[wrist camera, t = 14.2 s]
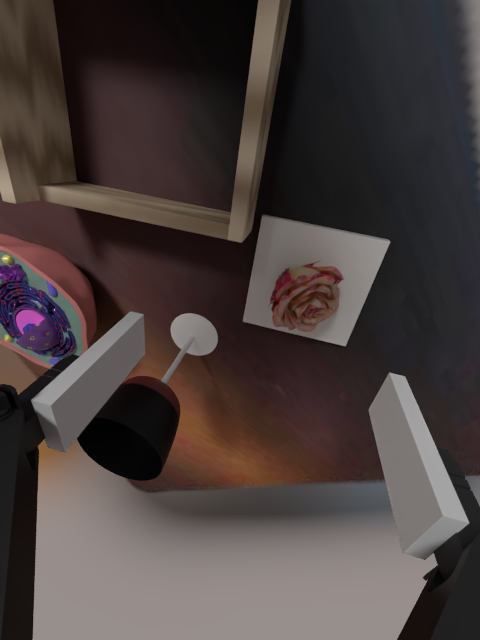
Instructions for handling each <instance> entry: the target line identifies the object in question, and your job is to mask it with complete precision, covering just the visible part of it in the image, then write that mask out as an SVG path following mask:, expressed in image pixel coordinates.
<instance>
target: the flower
mask: <svg viewBox="0 0 480 640" xmlns="http://www.w3.org/2000/svg"><path fill="white" fill-rule="evenodd" d="M321 261H322V260H321ZM317 262H319V261H317ZM317 262H315V263H317ZM315 263H310V264H306V265H303V266H300V267H295V268H293V269H291V270H290V269H289V267H288V268H287V269H285V271H284V272H282V273H281V274H280V276H278V277H279V278H278V279H277V281H276V284H275V288H274V290H273V292H272V296H271V298H270V304H272V303H273V305H272V308H271V310H272V312H273V316H272V319H273V324H274V326H275V327H287V328H288V329H289V330H293V329H295V328H297V329H298V330H300V331H304V332H309V331H312V330H314V329H315V328H316V326H317V324H318V323H320V322H323V321H324V320H326V319H327V318H329V317H330V316H332V315H333V314H334V313H335V312H336V310H337V309H338V307H339V289H338V287H337V285H338V283H340V281H342V280H344V278H343V276H342V274H341V273H340V271H339V270H338V269H337V268H336V267H332V266H328V267H314V266H313V265H314V264H315ZM337 302H338V303H337ZM270 304H269V306H270Z"/></svg>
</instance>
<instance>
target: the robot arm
mask: <svg viewBox="0 0 480 640" xmlns="http://www.w3.org/2000/svg"><path fill="white" fill-rule="evenodd" d="M144 355H145V334H144V314H140V313H136V312H132V311H130V312H129V313H128V314H127V315H126V316H125V317H124V318H122V319H121V320H120V321H119V322H118V323H117V324H116V325H115V326H113V327H112V328H111V329H110V330H109V331H108V332H107V333H106V334H105V335H103V336H102V337H101V338H100V339H99V340H98V341H97V342H96V343H94V344H93V345H92V346H91V347H90V348H89V349H88V350H87V351H85V352H84V353H83V354H82V355H81V356H77V355H74V354H72V355H70V356H68V357H66V358H63V359H61V360H60V361H59V362H57V363H56V364H55V365H54V366H53V367H51V369H49V370H48V371H47V372H45V373H44V375H43V376H41V377H39V378H38V379H37V380H36V381H35V382H33V383H32V384H31V385H30V386H29V387H27V388H26V389H25V390H24V391H23V392H21V393H20V394H19V395H18V394H17V392H16V389H15V388H14V387H12V386H10V385H5V384H2V385H0V640H32V638H33V609H34V580H35V579H34V578H35V577H34V576H35V550H36V521H37V491H38V462H39V450H38V445H39V444H40V443H41V442H42V441H43V440H44V439H45V441H46V444H47V447H48V448H51V449H55V450H58V451H61V452H66V451H67V450H68V448H69V447H70V446H71V445H72V443H73V442H74V441H75V440H76V439H77V437H78V436H79V435H80V434H81V432H82V431H83V430H84V429H85V428H86V426H87V425H88V424H89V423H90V421H91V420H92V419H93V418H94V416H95V415H96V414H97V413H98V411H99V410H100V409H101V408H102V407H103V405H104V404H105V403H106V402H107V400H108V399H109V398H110V397H111V395H112V394H113V393H114V392H115V391H116V389H117V388H118V387H119V386H120V384H121V383H122V382H123V381H124V379H125V378H126V377H127V376H128V374H129V373H130V372H131V371H132V370H133V368H134V367H135V366H136V365H137V363H138V362H139V361H140V360H141V358H142V357H143V356H144ZM369 414H370V418H371V423H372V427H373V431H374V435H375V439H376V444H377V448H378V452H379V456H380V460H381V464H382V469H383V473H384V477H385V481H386V485H387V490H388V493H389V498H390V502H391V506H392V510H393V515H394V519H395V523H396V527H397V531H398V536H399V540H400V544H401V548H402V552H403V553H404V554H408V555H411V556H414V557H418V558H421V559H424V560H425V559H427V558H428V557H429V556H430V555H431V554H433V553H434V554H435V558H436V561H437V564H438V566H436V567H435V568H434V569H432V570H431V571H430V572H428V573H427V574H426V575H425V576H424V577H423V578H424V579H425V580H427V579H428V581H427V583H426V585H425V587H424V589H423V590H422V593H421V594H420V596H419V598H418V600H417V602H416V604H415V606H414V608H413V610H412V612H411V614H410V616H409V618H408V620H407V622H406V623H405V625H404V627H403V629H402V631H401V633H400V635H399V637H398V639H397V640H480V506H479V504H478V503H477V500H476V499H475V496H474V495H473V492H472V491H471V490H470V486H469V484H468V482H467V480H465V476H464V474H463V472H462V470H461V468H460V465H459V464H458V462H457V461H456V460H455V459H454V458H453V456H452V455H451V454H450V453H449V452H448V451H447V450H443V449H439V448H436V446H435V444H434V441H433V439H432V437H431V434H430V432H429V430H428V428H427V425H426V423H425V421H424V419H423V416H422V414H421V412H420V409H419V407H418V405H417V403H416V400H415V398H414V396H413V393H412V391H411V389H410V387H409V384H408V382H407V380H406V378H405V376H401V375H397V374H393V373H389V374H388V376H387V378H386V379H385V381H384V383H383V385H382V387H381V388H380V390H379V392H378V394H377V396H376V397H375V399H374V401H373V403H372V404H371V406H370V408H369Z"/></svg>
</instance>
